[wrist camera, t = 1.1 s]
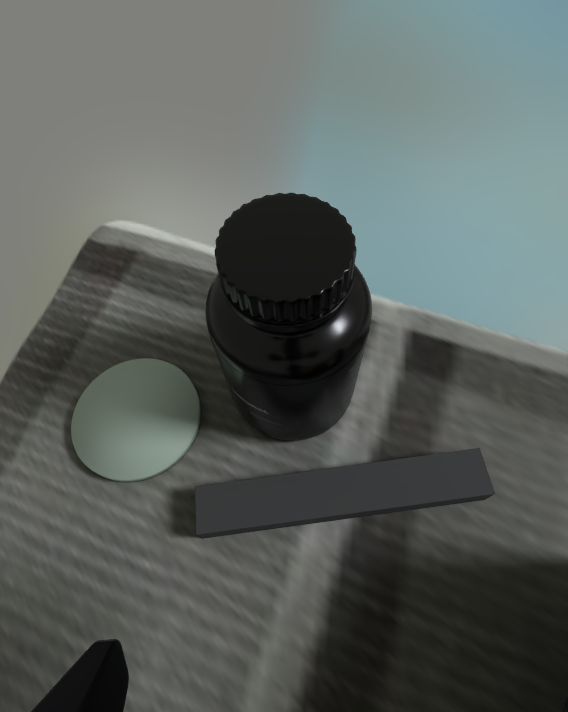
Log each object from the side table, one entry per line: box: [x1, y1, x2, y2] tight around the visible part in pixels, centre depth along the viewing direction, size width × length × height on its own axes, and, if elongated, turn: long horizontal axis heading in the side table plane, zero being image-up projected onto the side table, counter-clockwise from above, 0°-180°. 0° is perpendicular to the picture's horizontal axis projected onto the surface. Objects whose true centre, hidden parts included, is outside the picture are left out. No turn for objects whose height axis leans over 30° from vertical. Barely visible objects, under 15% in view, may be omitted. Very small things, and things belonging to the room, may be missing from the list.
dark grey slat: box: [195, 448, 495, 538], centre depth 22 cm, size 14×2×2 cm, turn 97°
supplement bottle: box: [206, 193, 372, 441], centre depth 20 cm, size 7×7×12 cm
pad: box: [71, 358, 201, 482], centre depth 25 cm, size 7×7×1 cm
